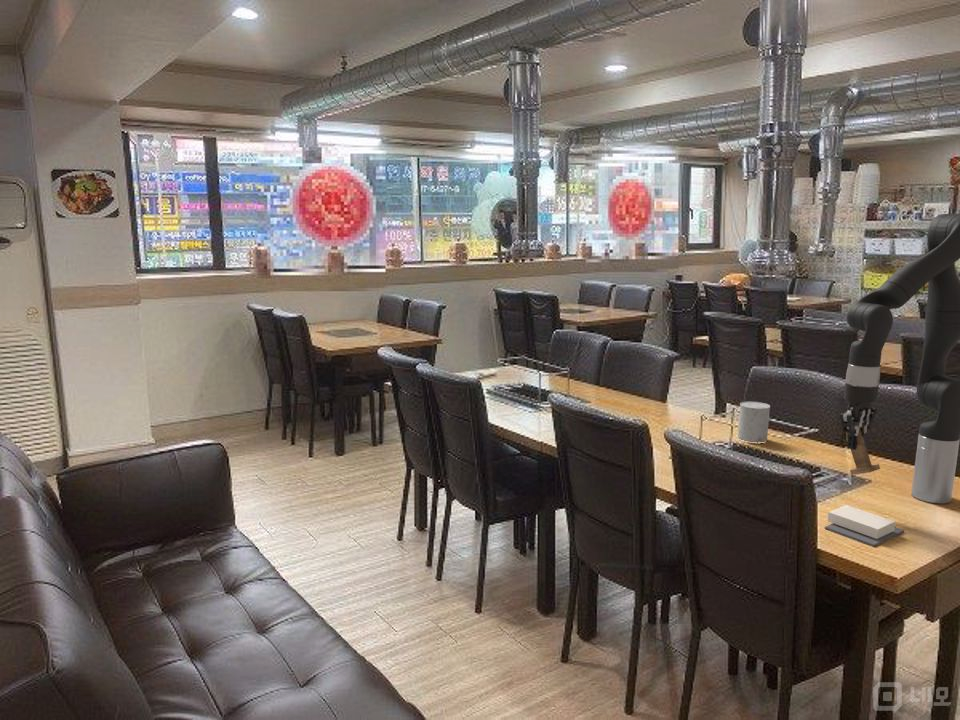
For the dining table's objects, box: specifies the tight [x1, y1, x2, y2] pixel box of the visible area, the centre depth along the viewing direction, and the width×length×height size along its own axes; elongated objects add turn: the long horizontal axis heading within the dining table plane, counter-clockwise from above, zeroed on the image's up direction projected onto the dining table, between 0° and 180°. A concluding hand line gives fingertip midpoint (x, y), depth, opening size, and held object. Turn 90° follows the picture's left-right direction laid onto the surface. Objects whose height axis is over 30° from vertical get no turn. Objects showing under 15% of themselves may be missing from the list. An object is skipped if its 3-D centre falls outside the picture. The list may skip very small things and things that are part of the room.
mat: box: [824, 523, 905, 548], centre depth 173 cm, size 14×12×1 cm
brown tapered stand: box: [845, 421, 881, 476], centre depth 183 cm, size 5×5×13 cm
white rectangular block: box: [827, 504, 896, 539], centre depth 173 cm, size 8×3×12 cm
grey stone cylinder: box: [737, 401, 771, 443], centre depth 243 cm, size 10×10×12 cm
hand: (854, 447), depth 184 cm, fingers closed on brown tapered stand, 2 cm apart
